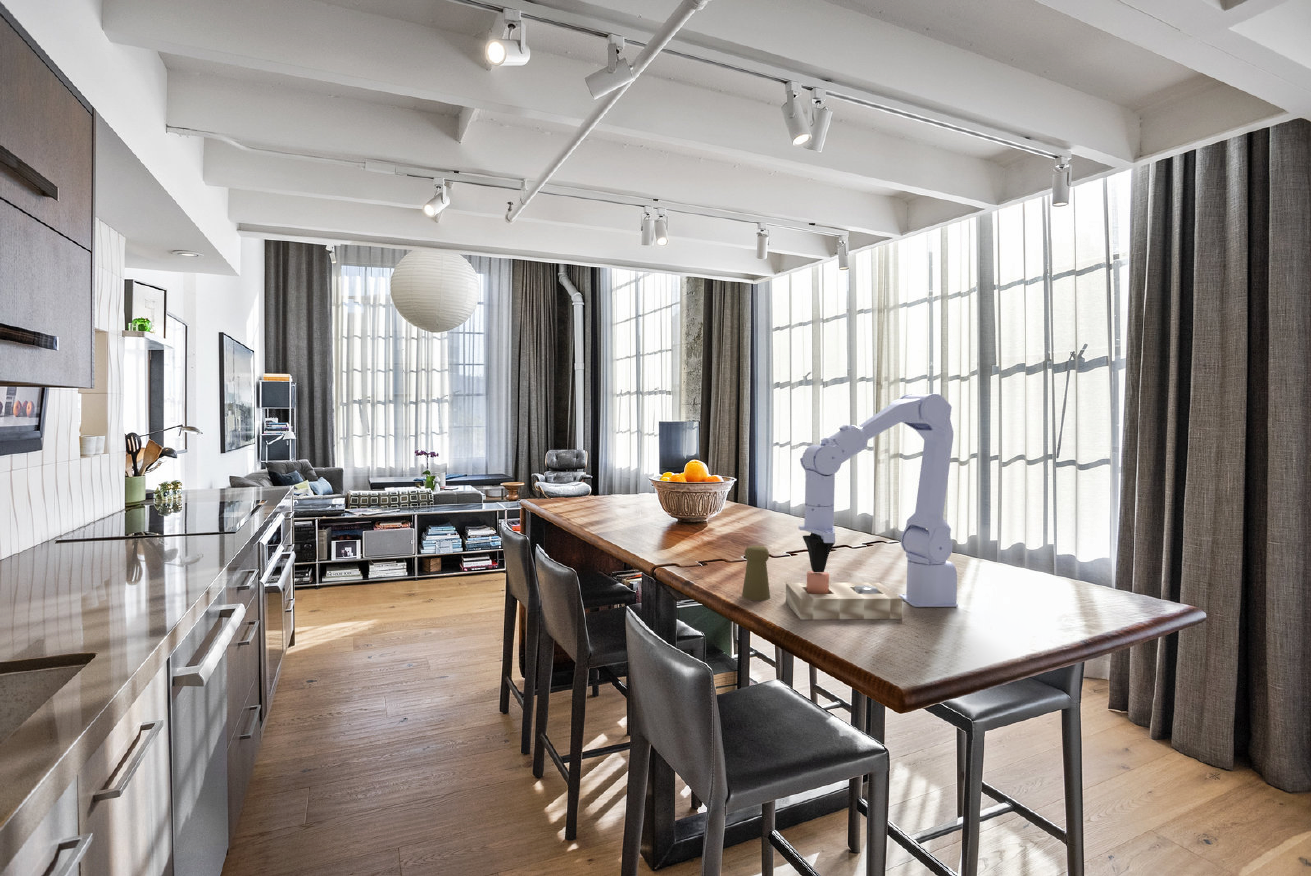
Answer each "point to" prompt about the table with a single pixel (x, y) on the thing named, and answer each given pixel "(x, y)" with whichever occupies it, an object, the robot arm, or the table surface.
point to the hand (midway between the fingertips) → (817, 571)
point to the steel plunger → (866, 589)
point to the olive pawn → (756, 573)
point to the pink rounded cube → (817, 582)
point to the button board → (844, 602)
